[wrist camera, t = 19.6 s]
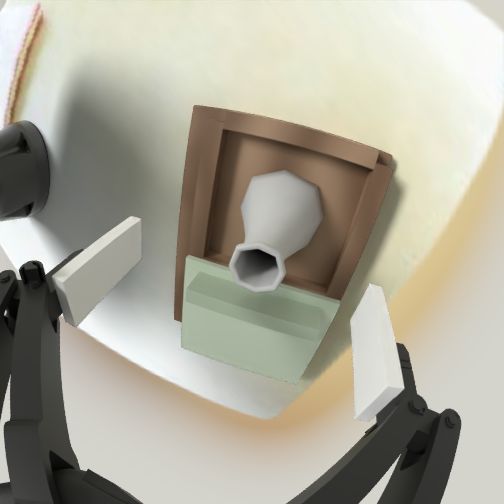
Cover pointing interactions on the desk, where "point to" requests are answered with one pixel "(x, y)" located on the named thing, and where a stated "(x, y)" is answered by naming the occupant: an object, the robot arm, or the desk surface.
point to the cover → (252, 322)
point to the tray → (267, 161)
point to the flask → (274, 228)
